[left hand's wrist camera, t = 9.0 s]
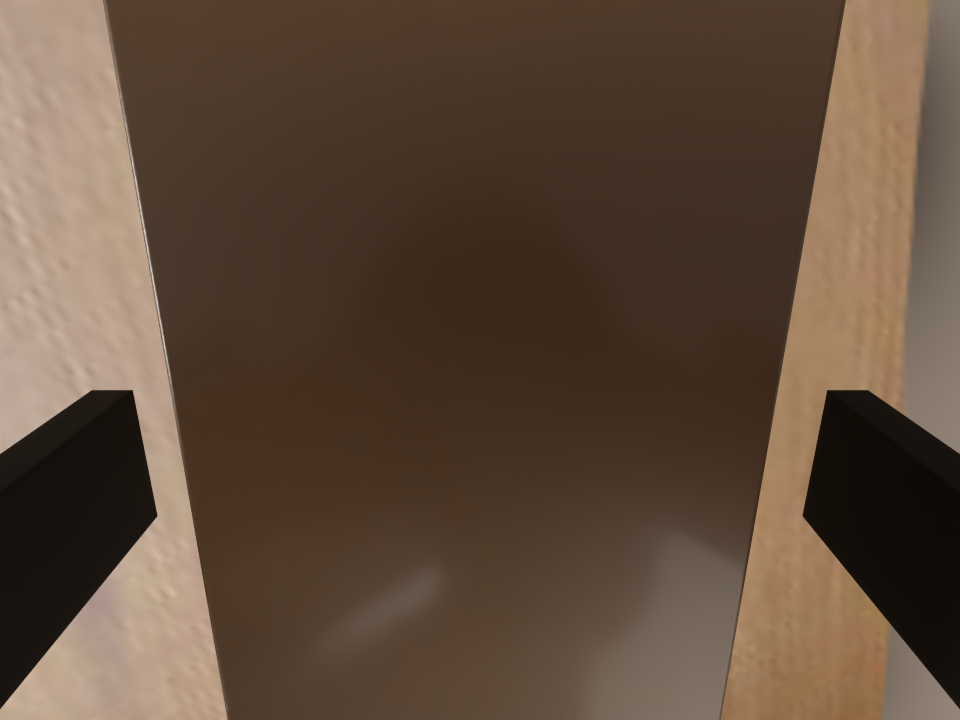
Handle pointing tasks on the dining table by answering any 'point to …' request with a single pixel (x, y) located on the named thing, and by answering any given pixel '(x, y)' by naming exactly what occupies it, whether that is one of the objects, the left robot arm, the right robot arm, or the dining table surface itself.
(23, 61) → the dining table surface
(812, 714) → the dining table surface
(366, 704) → the bar
